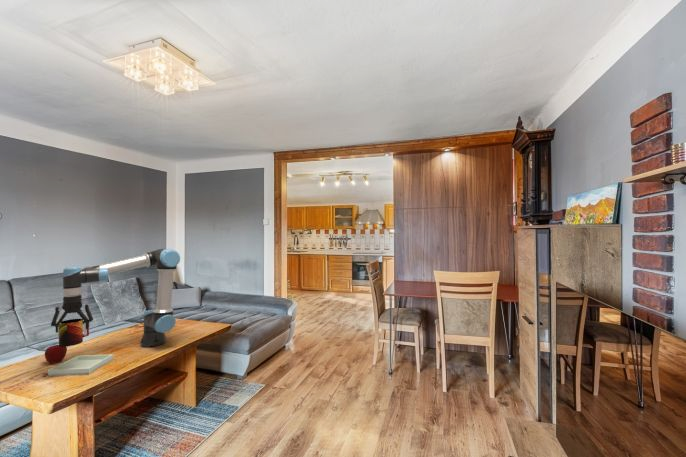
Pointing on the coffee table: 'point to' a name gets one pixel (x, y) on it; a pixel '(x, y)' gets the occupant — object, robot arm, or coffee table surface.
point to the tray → (81, 365)
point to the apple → (55, 354)
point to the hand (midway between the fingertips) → (72, 336)
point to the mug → (71, 332)
